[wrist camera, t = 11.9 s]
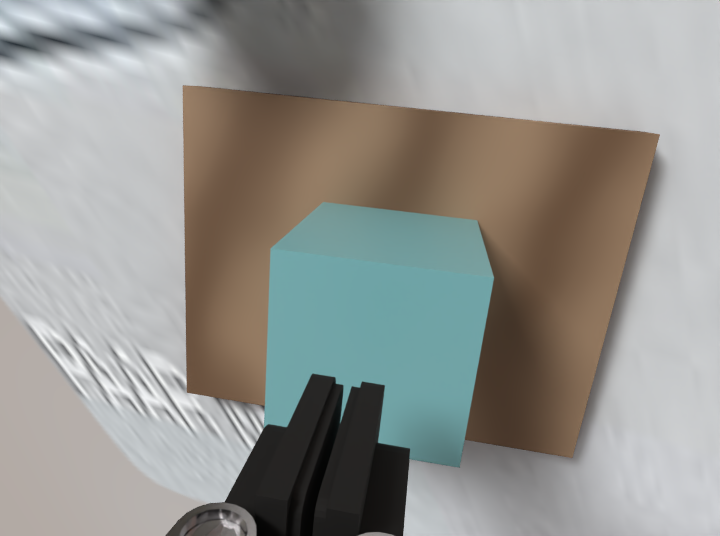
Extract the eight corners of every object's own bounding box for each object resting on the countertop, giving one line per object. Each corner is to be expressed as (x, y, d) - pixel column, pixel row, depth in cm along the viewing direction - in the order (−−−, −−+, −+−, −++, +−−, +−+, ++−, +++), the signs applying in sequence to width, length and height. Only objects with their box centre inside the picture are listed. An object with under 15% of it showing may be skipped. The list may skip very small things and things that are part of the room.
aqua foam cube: (477, 220, 21) (493, 277, 14) (454, 359, 23) (459, 467, 16) (323, 202, 21) (270, 248, 15) (313, 339, 23) (263, 434, 17)
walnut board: (644, 131, 20) (659, 134, 19) (564, 437, 25) (572, 457, 23) (199, 86, 22) (182, 85, 21) (200, 376, 27) (186, 392, 25)
